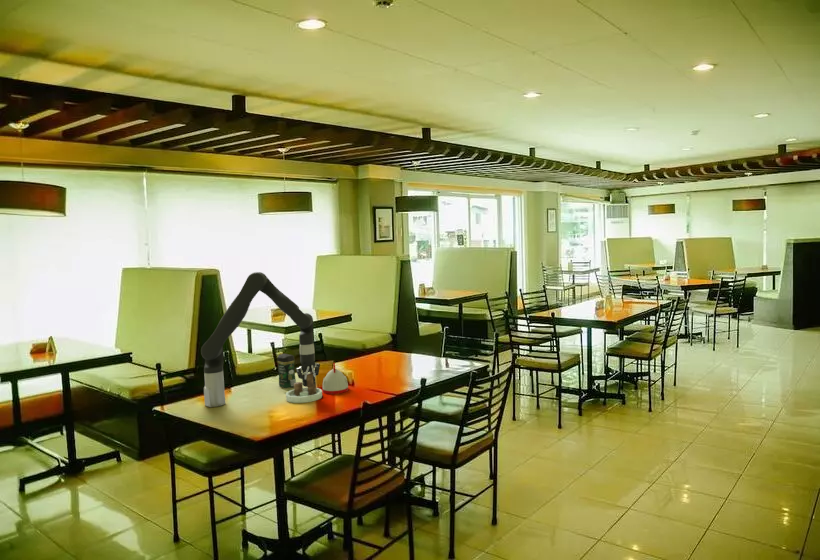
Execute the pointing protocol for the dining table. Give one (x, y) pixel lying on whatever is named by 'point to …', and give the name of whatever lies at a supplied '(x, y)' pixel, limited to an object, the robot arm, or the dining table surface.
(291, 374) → the coffee jar
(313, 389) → the bead
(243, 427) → the dining table surface
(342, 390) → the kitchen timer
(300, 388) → the bead
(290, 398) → the tray
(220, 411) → the dining table surface
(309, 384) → the brown short cylinder
